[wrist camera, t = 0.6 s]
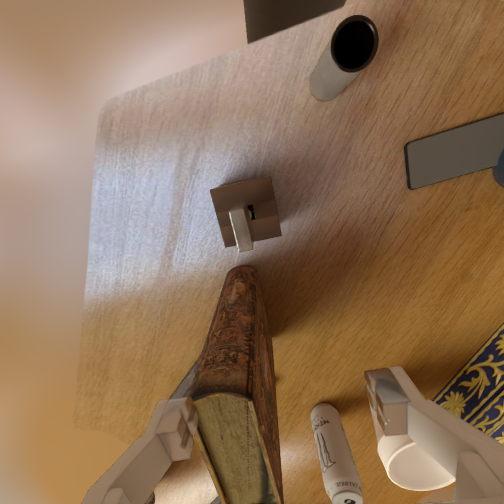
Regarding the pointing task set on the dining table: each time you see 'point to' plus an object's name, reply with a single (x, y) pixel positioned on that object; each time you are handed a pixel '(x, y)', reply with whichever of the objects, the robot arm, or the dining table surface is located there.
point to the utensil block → (252, 193)
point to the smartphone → (454, 152)
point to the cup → (409, 462)
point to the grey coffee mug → (499, 170)
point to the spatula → (242, 225)
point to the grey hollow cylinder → (344, 57)
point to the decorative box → (479, 389)
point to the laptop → (217, 501)
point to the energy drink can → (335, 456)
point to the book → (239, 396)
